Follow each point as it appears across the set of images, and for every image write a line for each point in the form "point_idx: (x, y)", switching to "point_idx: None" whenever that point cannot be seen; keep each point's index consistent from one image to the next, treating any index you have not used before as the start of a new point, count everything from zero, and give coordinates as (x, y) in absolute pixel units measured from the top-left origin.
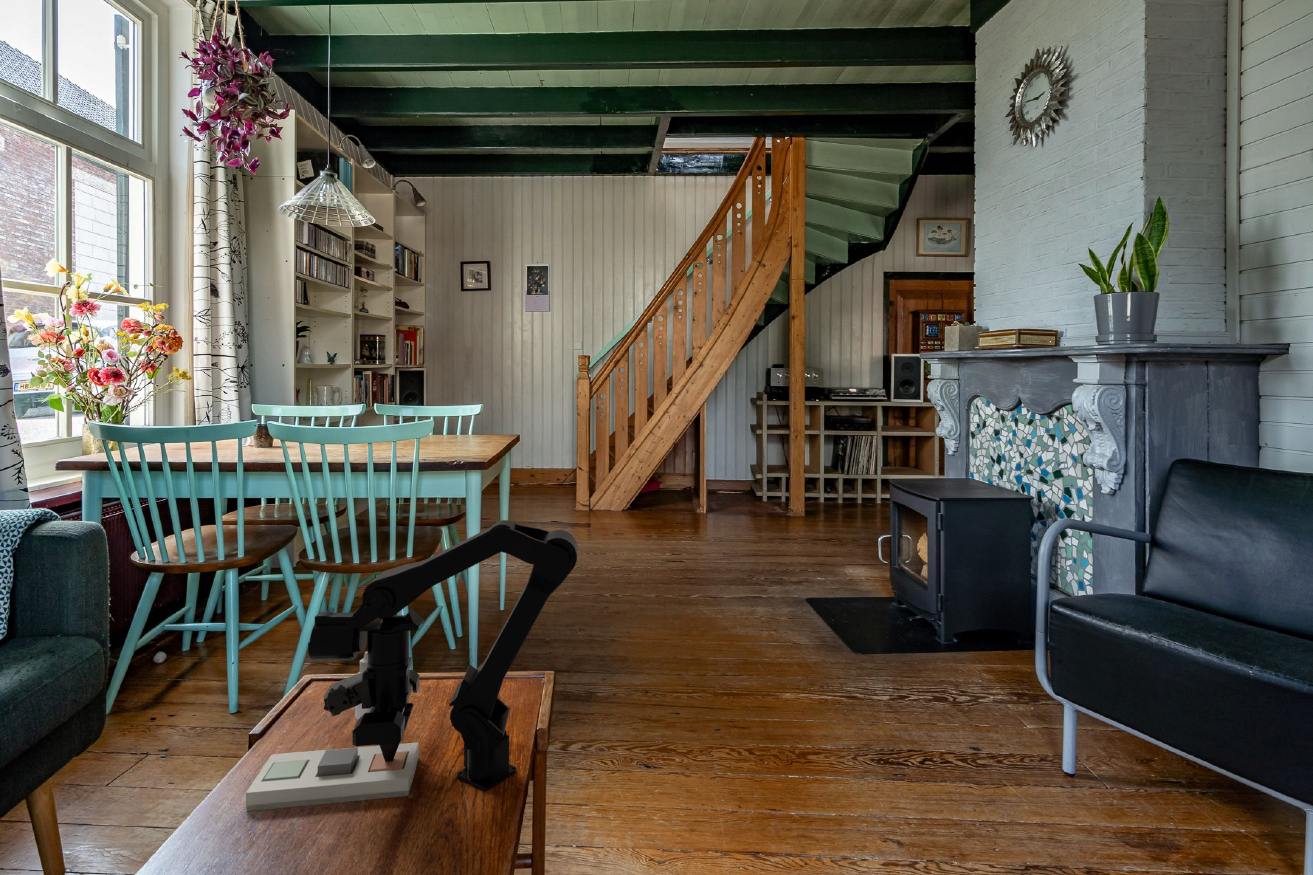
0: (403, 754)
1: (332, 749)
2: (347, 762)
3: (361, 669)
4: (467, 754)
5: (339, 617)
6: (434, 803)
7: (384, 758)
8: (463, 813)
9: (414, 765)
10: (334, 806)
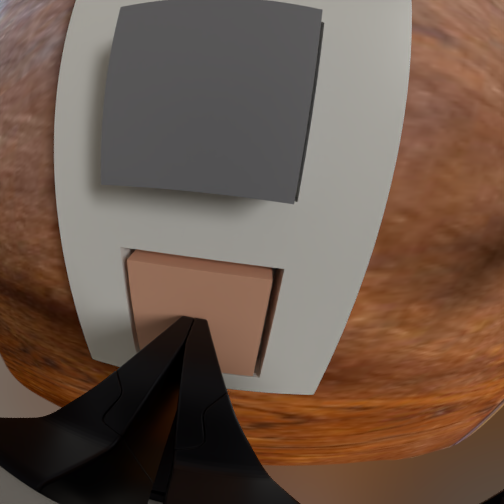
0: (232, 366)
1: (407, 64)
2: (112, 163)
3: None
4: (171, 456)
5: None
6: (91, 359)
7: (173, 324)
8: (73, 383)
9: None
10: None
